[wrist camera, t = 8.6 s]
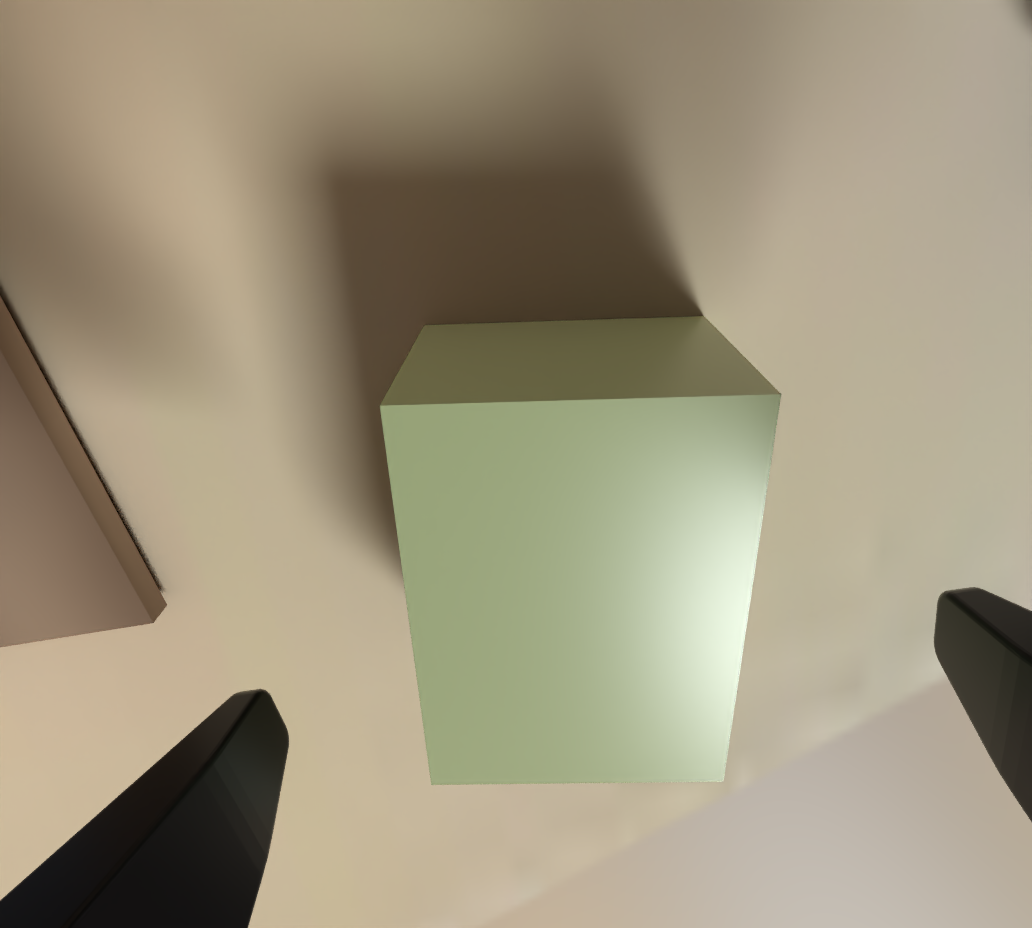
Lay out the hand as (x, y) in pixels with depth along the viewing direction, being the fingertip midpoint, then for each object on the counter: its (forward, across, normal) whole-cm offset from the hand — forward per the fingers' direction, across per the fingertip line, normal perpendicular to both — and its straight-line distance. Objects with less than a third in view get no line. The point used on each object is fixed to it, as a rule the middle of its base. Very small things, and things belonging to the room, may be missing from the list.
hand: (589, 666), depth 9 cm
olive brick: (+5, 0, 0) cm, 5 cm away
